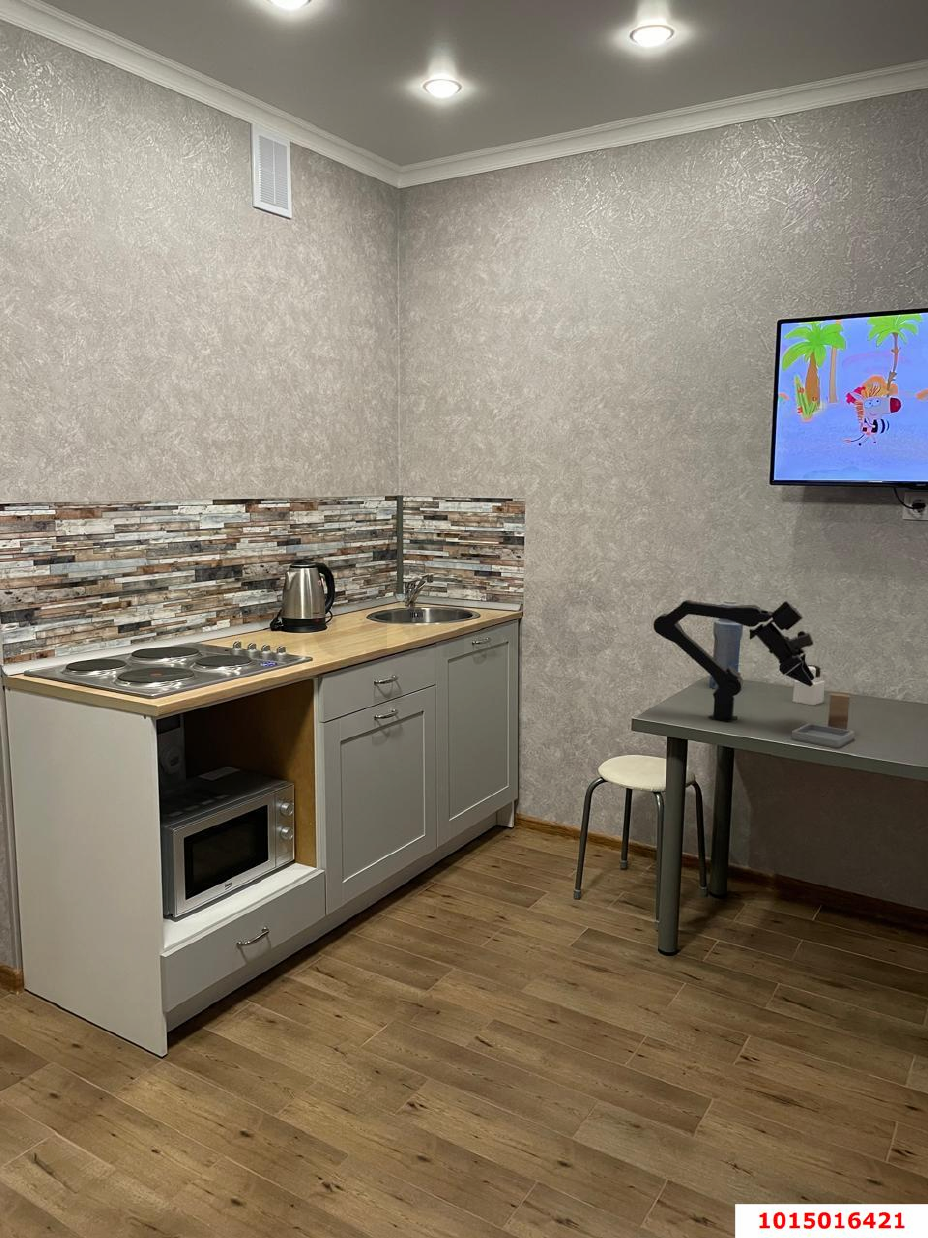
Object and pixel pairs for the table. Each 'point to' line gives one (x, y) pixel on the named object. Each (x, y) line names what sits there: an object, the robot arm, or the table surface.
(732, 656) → the bottle
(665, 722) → the table surface
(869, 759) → the table surface
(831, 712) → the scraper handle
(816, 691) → the medicine bottle
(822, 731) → the tray
